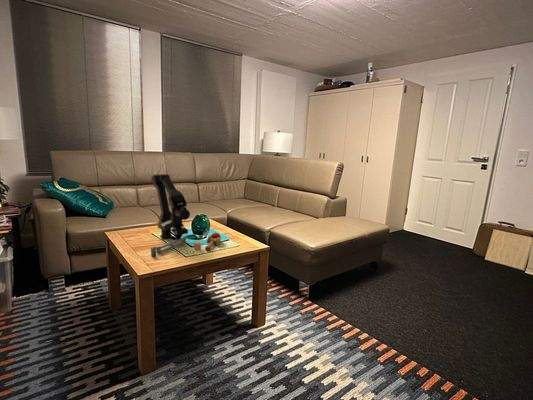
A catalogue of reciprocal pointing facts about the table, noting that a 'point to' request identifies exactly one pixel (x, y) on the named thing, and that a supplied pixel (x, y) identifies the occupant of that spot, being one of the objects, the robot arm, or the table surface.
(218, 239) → the kendama
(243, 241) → the table surface
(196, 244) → the latch post
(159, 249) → the grey long rod
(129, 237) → the table surface
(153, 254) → the hinge post
